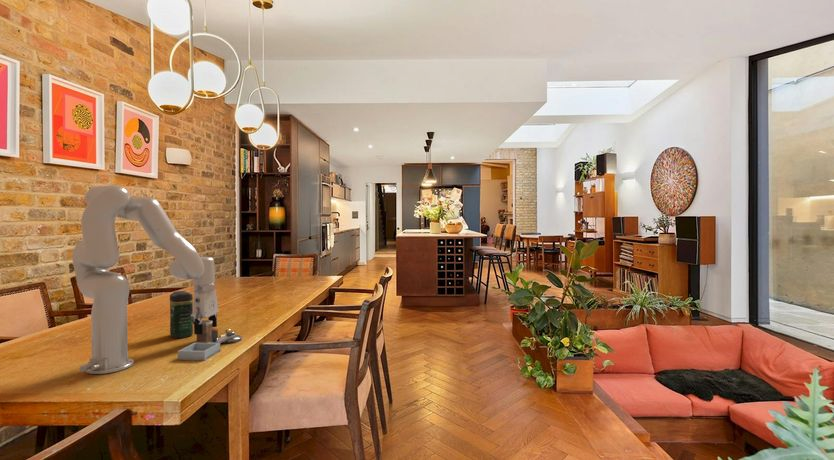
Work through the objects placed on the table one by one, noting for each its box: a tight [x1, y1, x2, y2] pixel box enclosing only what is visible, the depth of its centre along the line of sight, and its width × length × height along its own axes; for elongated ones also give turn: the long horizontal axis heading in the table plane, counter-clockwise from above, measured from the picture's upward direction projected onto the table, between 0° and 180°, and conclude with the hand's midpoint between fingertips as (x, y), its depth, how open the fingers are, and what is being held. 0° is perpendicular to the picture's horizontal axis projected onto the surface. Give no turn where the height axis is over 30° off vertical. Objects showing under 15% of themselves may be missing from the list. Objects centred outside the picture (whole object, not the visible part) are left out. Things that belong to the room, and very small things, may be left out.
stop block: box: [196, 319, 213, 343], centre depth 165 cm, size 4×4×8 cm
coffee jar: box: [169, 290, 194, 339], centre depth 173 cm, size 10×8×19 cm
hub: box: [221, 334, 242, 344], centre depth 167 cm, size 8×8×1 cm
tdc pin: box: [224, 328, 232, 335], centre depth 172 cm, size 2×2×3 cm
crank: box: [209, 327, 236, 344], centre depth 162 cm, size 12×4×6 cm, turn 166°
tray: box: [177, 342, 221, 361], centre depth 149 cm, size 10×10×3 cm
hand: (205, 330), depth 165 cm, fingers open, 9 cm apart
